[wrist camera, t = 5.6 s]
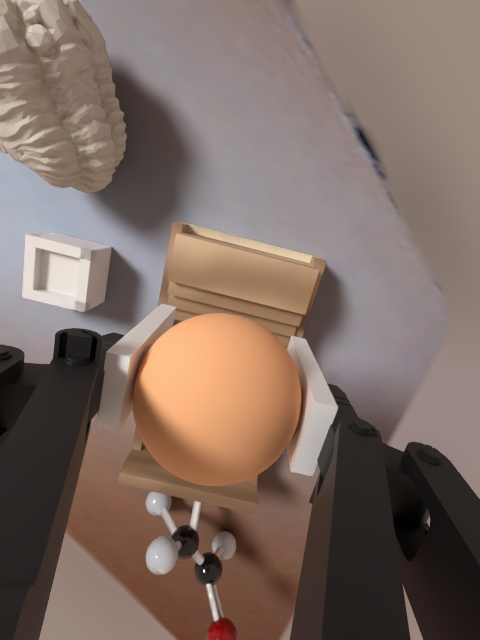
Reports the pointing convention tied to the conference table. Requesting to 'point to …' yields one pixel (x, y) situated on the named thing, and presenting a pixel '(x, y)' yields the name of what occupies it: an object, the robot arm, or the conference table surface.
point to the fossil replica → (58, 94)
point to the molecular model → (185, 546)
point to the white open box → (65, 271)
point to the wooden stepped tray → (231, 298)
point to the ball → (216, 399)
